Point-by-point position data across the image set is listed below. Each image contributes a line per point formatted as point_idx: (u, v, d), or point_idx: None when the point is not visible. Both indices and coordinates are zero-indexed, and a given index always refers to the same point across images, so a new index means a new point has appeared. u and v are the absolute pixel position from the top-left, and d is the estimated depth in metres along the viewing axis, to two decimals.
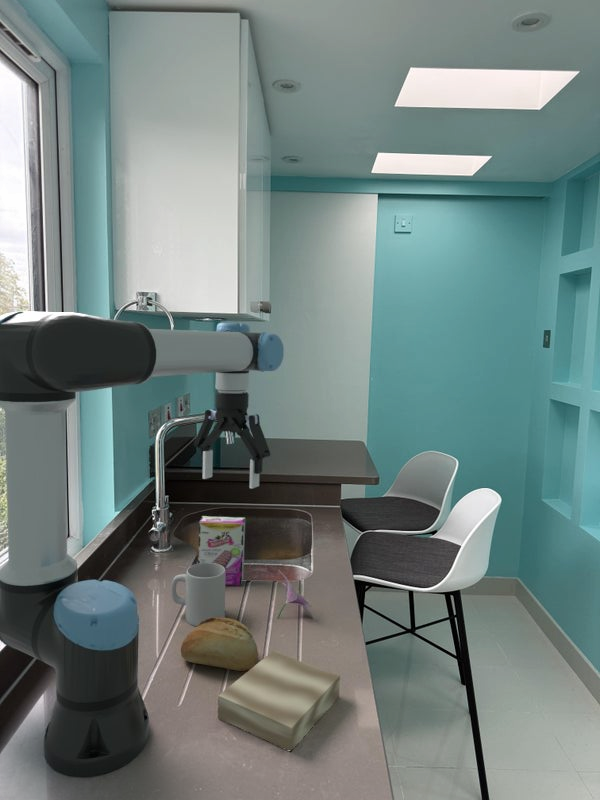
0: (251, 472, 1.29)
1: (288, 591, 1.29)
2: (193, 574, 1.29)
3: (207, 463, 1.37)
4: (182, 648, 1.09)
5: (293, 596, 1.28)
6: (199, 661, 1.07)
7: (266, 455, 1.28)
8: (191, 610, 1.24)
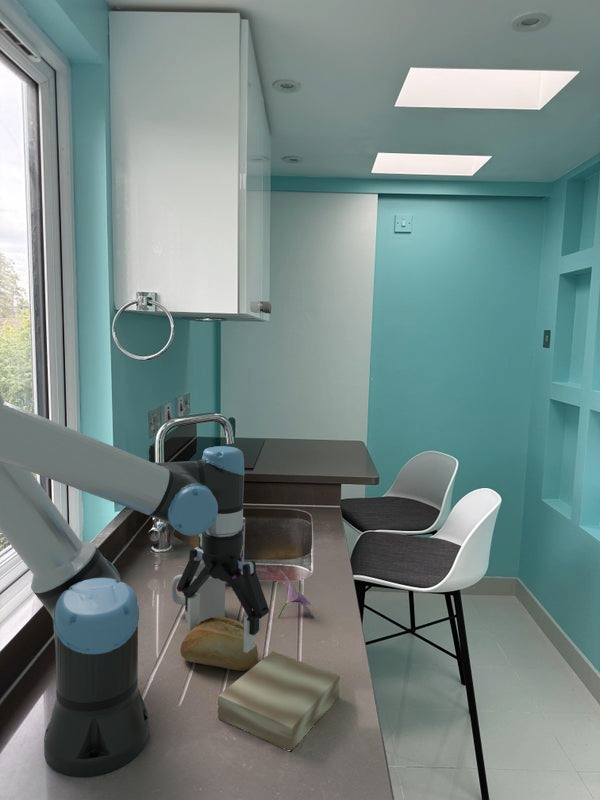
0: (245, 633, 1.05)
1: (289, 590, 1.29)
2: None
3: (193, 612, 1.12)
4: (182, 648, 1.09)
5: (294, 595, 1.28)
6: (198, 661, 1.07)
7: (264, 614, 1.04)
8: None
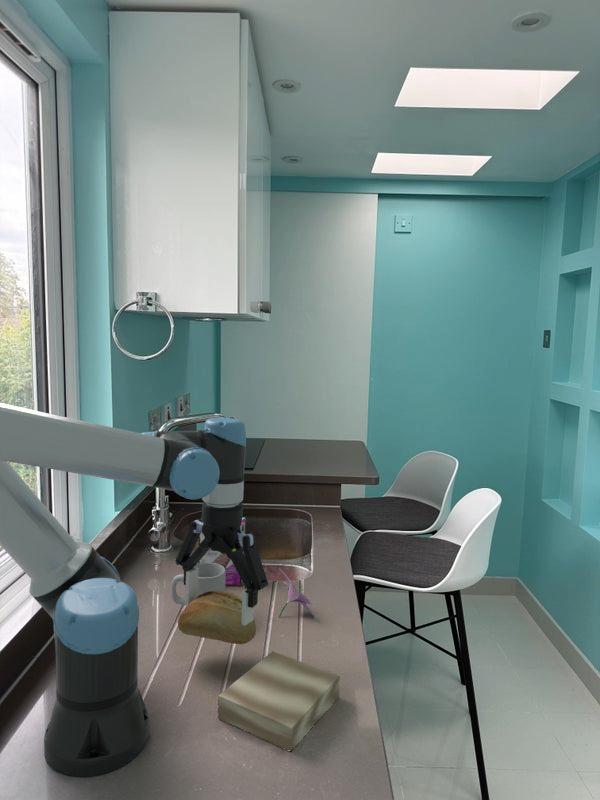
0: (244, 606, 1.04)
1: (289, 590, 1.29)
2: None
3: (191, 585, 1.12)
4: (179, 620, 1.08)
5: (294, 595, 1.28)
6: (196, 633, 1.06)
7: (263, 586, 1.03)
8: None
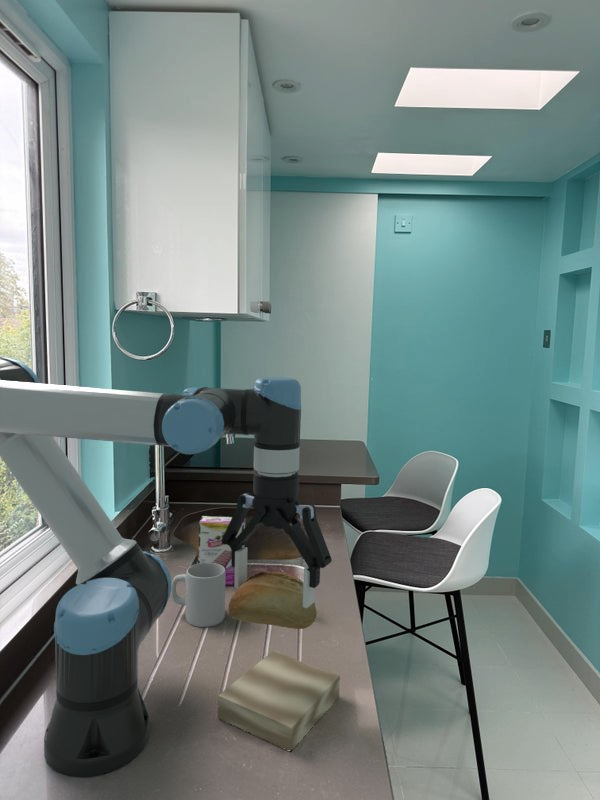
0: (305, 586, 0.93)
1: None
2: (193, 574, 1.29)
3: (241, 567, 1.00)
4: (231, 605, 0.97)
5: None
6: (251, 619, 0.95)
7: (327, 563, 0.92)
8: (191, 610, 1.24)
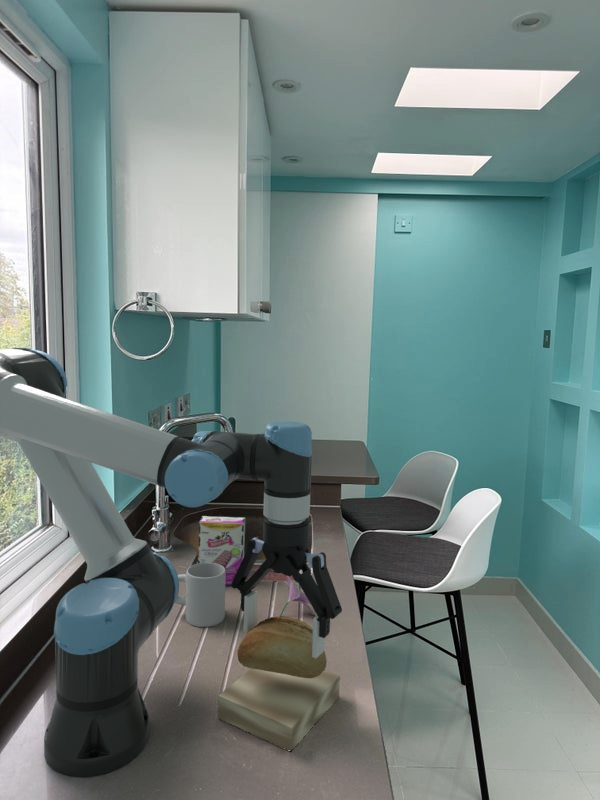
0: (315, 636, 0.91)
1: (290, 589, 1.30)
2: (193, 574, 1.29)
3: (250, 611, 0.99)
4: (240, 652, 0.95)
5: (296, 594, 1.29)
6: (260, 667, 0.93)
7: (337, 614, 0.90)
8: (191, 610, 1.24)
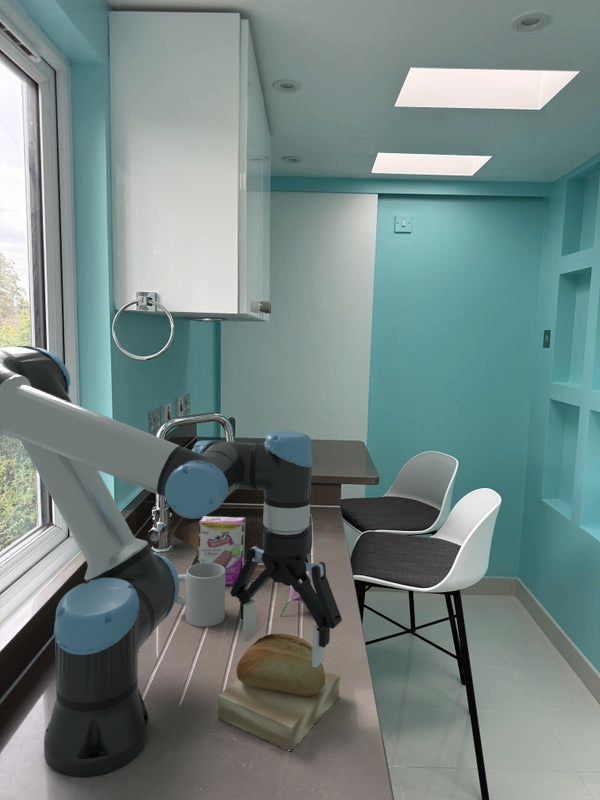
0: (315, 645, 0.92)
1: (291, 589, 1.30)
2: (193, 574, 1.29)
3: (249, 620, 0.99)
4: (239, 669, 0.96)
5: (296, 594, 1.29)
6: (259, 685, 0.94)
7: (337, 623, 0.90)
8: (191, 610, 1.24)
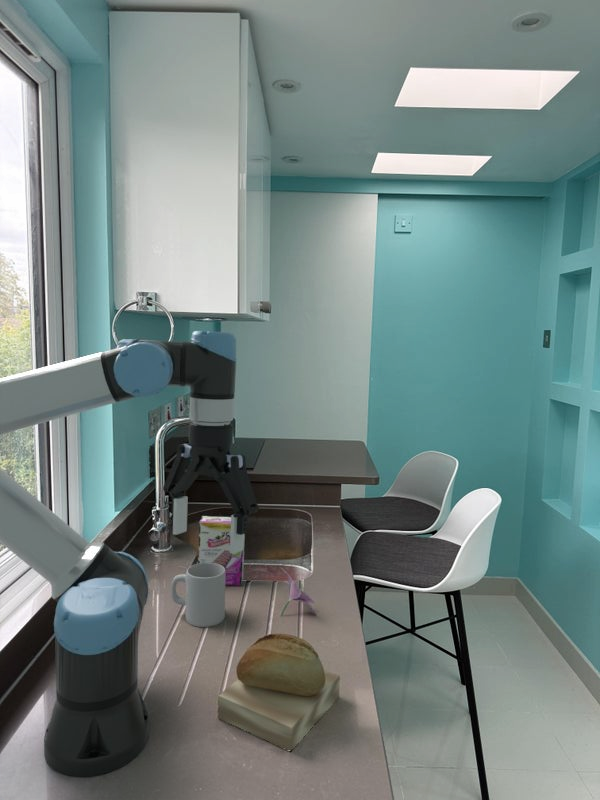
0: (232, 532, 0.96)
1: (291, 588, 1.30)
2: (193, 574, 1.29)
3: (179, 514, 1.04)
4: (239, 669, 0.96)
5: (296, 593, 1.29)
6: (259, 685, 0.94)
7: (252, 511, 0.95)
8: (191, 610, 1.24)
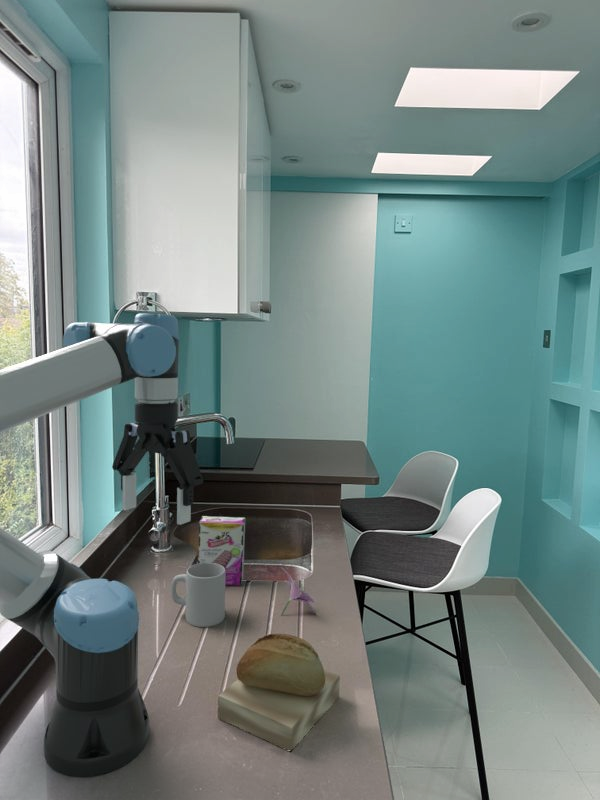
0: (179, 504, 1.01)
1: (292, 588, 1.30)
2: (193, 574, 1.29)
3: (128, 490, 1.09)
4: (239, 669, 0.96)
5: (297, 593, 1.29)
6: (259, 685, 0.94)
7: (197, 483, 1.00)
8: (191, 610, 1.24)
